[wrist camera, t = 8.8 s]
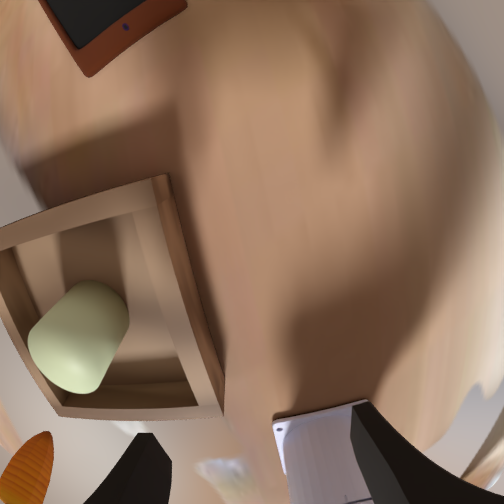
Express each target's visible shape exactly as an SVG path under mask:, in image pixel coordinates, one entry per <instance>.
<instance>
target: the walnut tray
mask: <svg viewBox="0 0 504 504" xmlns="http://www.w3.org/2000/svg"><path fill="white" fill-rule="evenodd" d="M85 280H94V281H99V282H102V283H104V284H106V285H108V286H109V287H111V288H112V289H113V290H114V291H116V292H117V293H118V295H119V296H120V297H121V298H122V300H123V301H124V303H125V305H126V307H127V309H128V312H129V319H130V322H129V328H128V330H127V332H126V334H125V336H124V338H123V340H122V342H121V344H120V346H119V348H118V349H117V351H116V353H115V355H114V357H113V359H112V361H111V363H110V365H109V367H108V369H107V371H106V373H105V375H104V377H103V379H102V381H101V383H100V385H99V387H98V388H97V389H96V390H95V391H93V392H91V393H86V394H79V393H73V392H70V391H67V390H65V389H63V388H61V387H59V386H57V385H56V384H54V383H53V382H52V381H50V380H49V379H48V378H47V377H46V376H45V375H44V374H43V373H42V372H41V371H40V370H39V368H38V367H37V366H36V364H35V362H34V361H33V359H32V357H31V354H30V352H29V348H28V335H29V332H30V330H31V329H32V328H33V327H34V326H35V325H36V324H37V323H38V322H39V321H40V319H41V318H42V317H43V316H44V315H45V314H46V313H47V312H48V311H49V310H50V309H51V308H52V307H53V306H54V305H55V304H56V303H57V302H58V301H59V300H60V299H61V298H62V297H63V296H64V295H65V294H66V293H67V292H68V291H69V290H70V289H71V288H72V287H73V286H74V285H76V284H77V283H79V282H81V281H85ZM0 317H1V319H2V321H3V324H4V326H5V328H6V329H7V332H8V334H9V336H10V338H11V340H12V342H13V344H14V345H15V347H16V349H17V351H18V353H19V355H20V356H21V358H22V360H23V362H24V363H25V365H26V367H27V369H28V370H29V372H30V374H31V375H32V377H33V379H34V380H35V382H36V383H37V385H38V387H39V388H40V389H41V391H42V393H43V394H44V396H45V397H46V398H47V400H48V402H49V403H50V404H51V406H52V407H53V409H54V410H55V411H56V413H57V414H58V416H61V417H70V418H83V419H95V420H116V421H166V420H187V419H201V418H213V417H223V416H224V393H225V378H224V375H223V372H222V369H221V366H220V363H219V360H218V357H217V353H216V350H215V347H214V344H213V340H212V337H211V334H210V331H209V327H208V324H207V320H206V317H205V314H204V310H203V307H202V303H201V300H200V296H199V293H198V289H197V285H196V282H195V278H194V274H193V271H192V267H191V263H190V259H189V255H188V251H187V248H186V244H185V240H184V236H183V232H182V227H181V223H180V219H179V215H178V211H177V206H176V202H175V198H174V193H173V189H172V184H171V180H170V175H169V173H166V174H162V175H158V176H154V177H150V178H147V179H143V180H139V181H135V182H132V183H128V184H125V185H121V186H118V187H114V188H111V189H108V190H104V191H101V192H98V193H94V194H91V195H88V196H85V197H82V198H79V199H76V200H73V201H70V202H67V203H64V204H61V205H58V206H55V207H52V208H50V209H47V210H44V211H41V212H39V213H36V214H33V215H31V216H28V217H26V218H23V219H20V220H18V221H15V222H13V223H11V224H8V225H5V226H3V227H1V228H0Z"/></svg>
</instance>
